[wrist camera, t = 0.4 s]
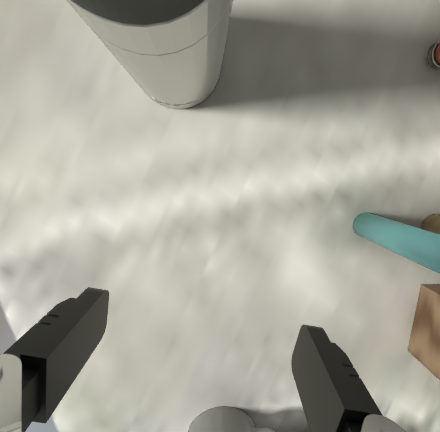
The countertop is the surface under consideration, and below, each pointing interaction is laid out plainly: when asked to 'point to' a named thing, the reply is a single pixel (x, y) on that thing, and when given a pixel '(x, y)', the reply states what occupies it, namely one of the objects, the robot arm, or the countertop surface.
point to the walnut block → (427, 329)
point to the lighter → (433, 56)
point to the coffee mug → (225, 421)
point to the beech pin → (432, 223)
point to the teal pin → (401, 239)
